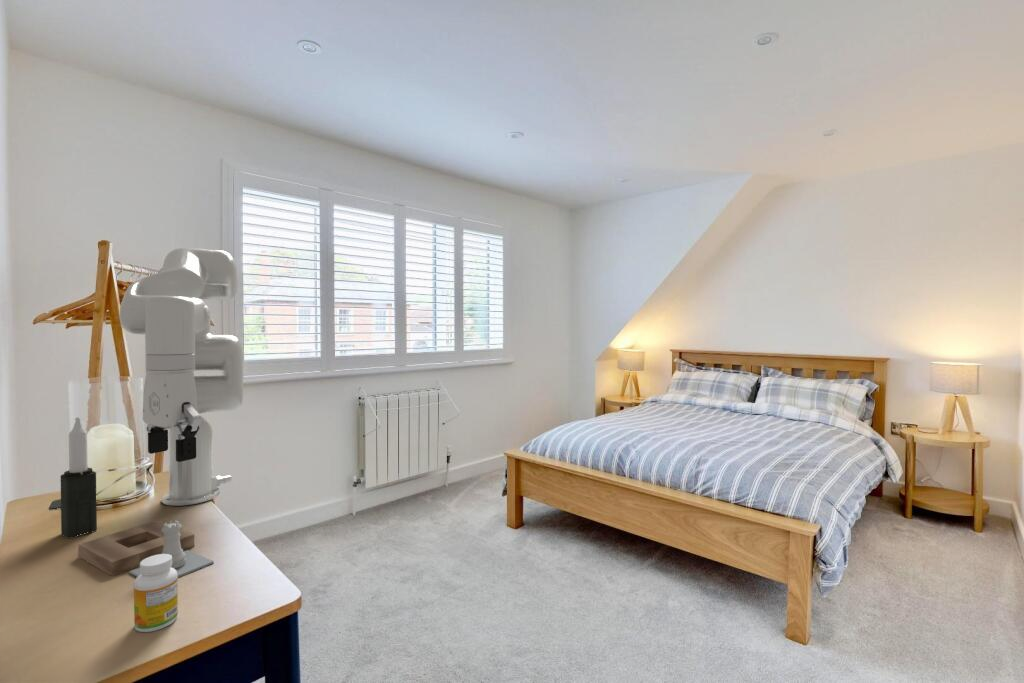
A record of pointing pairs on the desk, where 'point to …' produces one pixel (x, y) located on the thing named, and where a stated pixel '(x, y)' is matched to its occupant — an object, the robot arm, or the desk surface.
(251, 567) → the desk surface
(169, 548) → the rook chess piece
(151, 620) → the supplement bottle
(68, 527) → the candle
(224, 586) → the desk surface
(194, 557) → the rubber mat
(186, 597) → the desk surface
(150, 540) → the collar block
